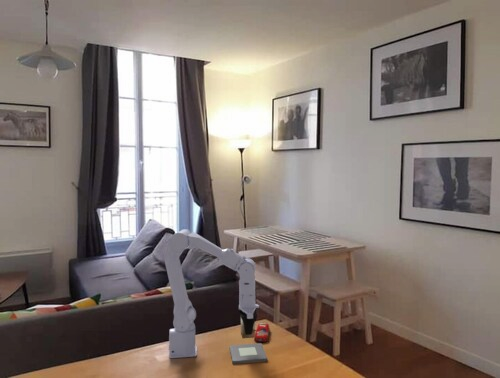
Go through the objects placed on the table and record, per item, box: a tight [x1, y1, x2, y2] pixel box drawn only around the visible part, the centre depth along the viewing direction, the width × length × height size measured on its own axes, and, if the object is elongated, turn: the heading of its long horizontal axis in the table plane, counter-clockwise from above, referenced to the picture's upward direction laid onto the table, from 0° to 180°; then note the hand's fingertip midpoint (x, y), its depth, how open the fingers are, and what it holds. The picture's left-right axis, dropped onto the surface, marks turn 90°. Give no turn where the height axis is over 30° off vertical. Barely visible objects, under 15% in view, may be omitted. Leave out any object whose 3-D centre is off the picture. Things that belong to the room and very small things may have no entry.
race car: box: [254, 322, 271, 343], centre depth 154 cm, size 13×5×4 cm, turn 171°
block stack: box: [240, 317, 256, 339], centre depth 138 cm, size 4×4×6 cm
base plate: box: [229, 342, 268, 365], centre depth 138 cm, size 12×12×1 cm
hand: (247, 331), depth 138 cm, fingers closed on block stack, 4 cm apart
